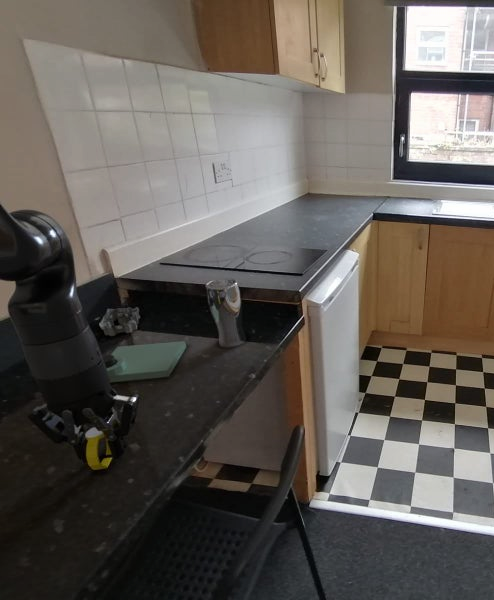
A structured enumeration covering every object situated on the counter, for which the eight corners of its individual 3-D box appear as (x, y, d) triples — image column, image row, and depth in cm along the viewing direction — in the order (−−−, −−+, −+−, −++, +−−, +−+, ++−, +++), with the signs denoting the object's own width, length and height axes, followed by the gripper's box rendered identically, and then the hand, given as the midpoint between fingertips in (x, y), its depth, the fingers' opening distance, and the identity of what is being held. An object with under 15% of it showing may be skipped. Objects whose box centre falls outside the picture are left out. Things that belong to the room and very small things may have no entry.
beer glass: (210, 347, 93) (197, 287, 87) (230, 333, 99) (219, 276, 93) (235, 351, 91) (223, 291, 85) (254, 337, 98) (244, 279, 91)
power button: (95, 370, 79) (92, 363, 79) (102, 362, 82) (100, 355, 81) (112, 368, 80) (109, 362, 79) (118, 360, 82) (116, 354, 82)
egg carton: (136, 333, 99) (132, 319, 97) (100, 339, 97) (95, 324, 95) (143, 315, 108) (139, 301, 106) (111, 320, 106) (106, 306, 104)
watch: (109, 475, 60) (97, 445, 57) (88, 478, 59) (74, 448, 57) (125, 446, 65) (114, 417, 63) (106, 449, 64) (94, 419, 62)
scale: (88, 388, 79) (82, 373, 77) (118, 354, 91) (113, 340, 89) (167, 380, 81) (163, 366, 80) (186, 348, 93) (183, 334, 91)
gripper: (-14, 383, 50) (37, 483, 57) (112, 371, 52) (146, 469, 59) (26, 351, 57) (67, 444, 64) (135, 342, 59) (163, 433, 66)
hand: (105, 456), depth 62 cm, fingers open, 3 cm apart
